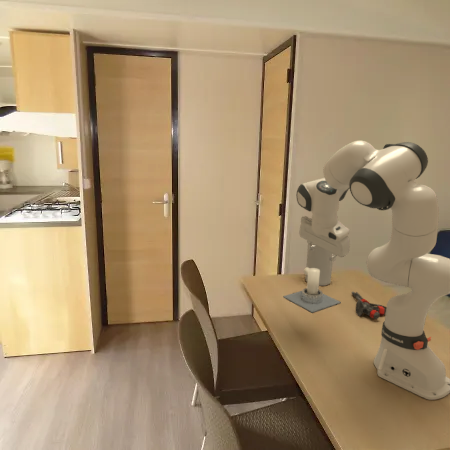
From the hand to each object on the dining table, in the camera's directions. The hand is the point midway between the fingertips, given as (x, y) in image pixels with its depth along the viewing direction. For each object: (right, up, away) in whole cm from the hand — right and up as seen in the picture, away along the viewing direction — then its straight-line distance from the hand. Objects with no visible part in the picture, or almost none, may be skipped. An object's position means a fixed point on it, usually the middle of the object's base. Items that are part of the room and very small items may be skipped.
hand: (322, 254), depth 139 cm
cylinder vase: (+10, -18, +48) cm, 52 cm away
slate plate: (+2, -23, +26) cm, 35 cm away
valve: (+26, -25, +20) cm, 41 cm away
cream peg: (+2, -22, +28) cm, 35 cm away
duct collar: (+2, -23, +26) cm, 35 cm away
